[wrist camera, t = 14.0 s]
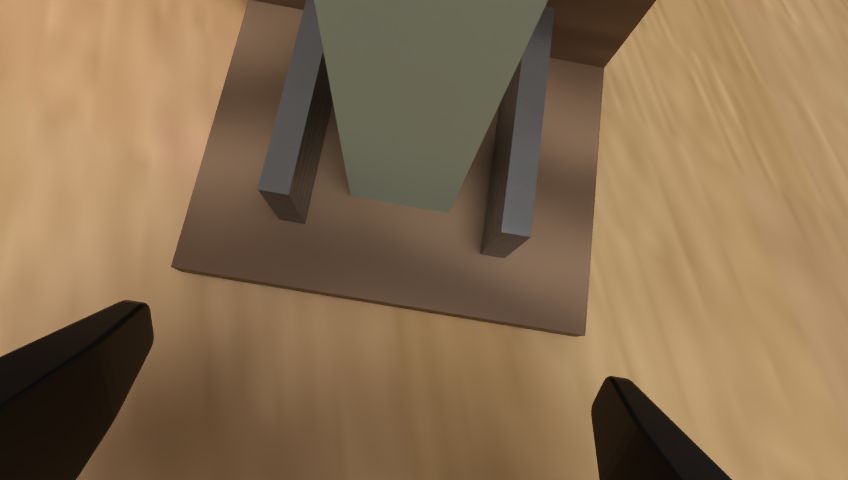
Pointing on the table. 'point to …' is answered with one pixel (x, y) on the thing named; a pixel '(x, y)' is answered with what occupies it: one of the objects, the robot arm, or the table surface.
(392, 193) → the pale green rectangular block
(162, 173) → the table surface
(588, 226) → the wooden display stand
